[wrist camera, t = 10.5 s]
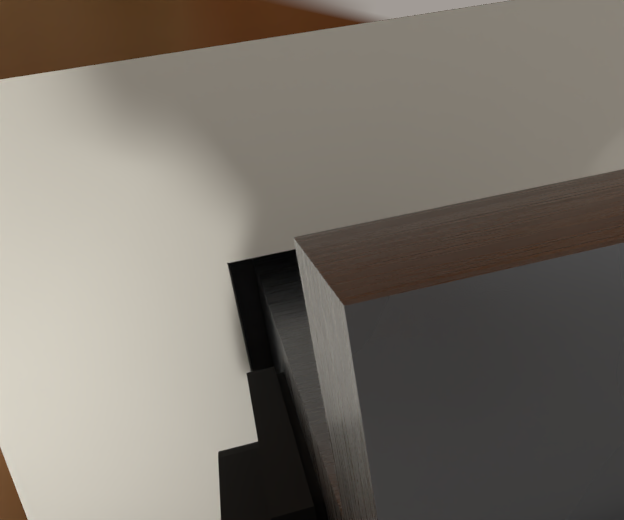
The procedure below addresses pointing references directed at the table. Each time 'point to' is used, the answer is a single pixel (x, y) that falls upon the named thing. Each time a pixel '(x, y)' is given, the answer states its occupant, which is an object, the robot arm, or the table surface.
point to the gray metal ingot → (461, 356)
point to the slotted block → (246, 217)
